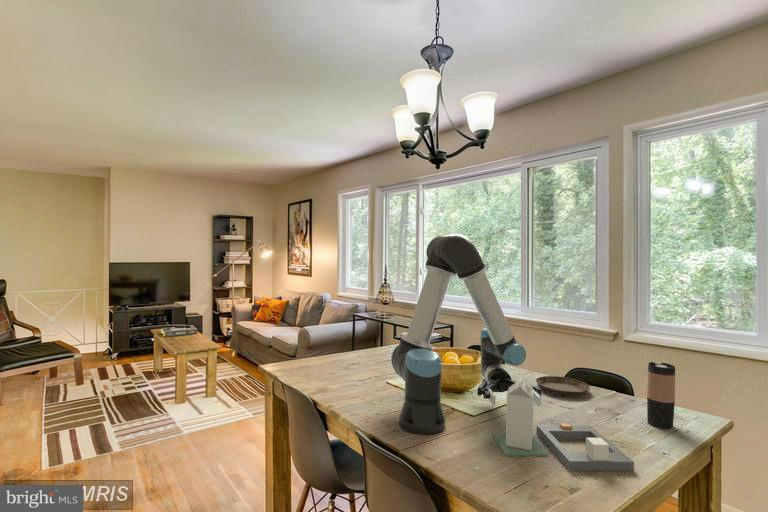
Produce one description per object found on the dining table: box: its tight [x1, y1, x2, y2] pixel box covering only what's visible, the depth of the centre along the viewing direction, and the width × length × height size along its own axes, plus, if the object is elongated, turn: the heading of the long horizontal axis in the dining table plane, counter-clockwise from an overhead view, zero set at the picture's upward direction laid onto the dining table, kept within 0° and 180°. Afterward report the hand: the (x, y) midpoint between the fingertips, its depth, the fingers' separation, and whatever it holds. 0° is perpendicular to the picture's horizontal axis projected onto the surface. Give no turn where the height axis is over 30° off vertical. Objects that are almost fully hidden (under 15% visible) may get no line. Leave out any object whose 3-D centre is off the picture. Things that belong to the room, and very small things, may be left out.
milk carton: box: [505, 375, 534, 450], centre depth 120 cm, size 7×7×19 cm
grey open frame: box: [536, 423, 635, 472], centre depth 118 cm, size 17×22×7 cm
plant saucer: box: [535, 375, 591, 398], centre depth 170 cm, size 21×21×3 cm
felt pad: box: [492, 433, 549, 457], centre depth 120 cm, size 12×12×1 cm
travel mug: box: [646, 361, 676, 430], centre depth 137 cm, size 8×8×20 cm
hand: (516, 401), depth 123 cm, fingers open, 13 cm apart
